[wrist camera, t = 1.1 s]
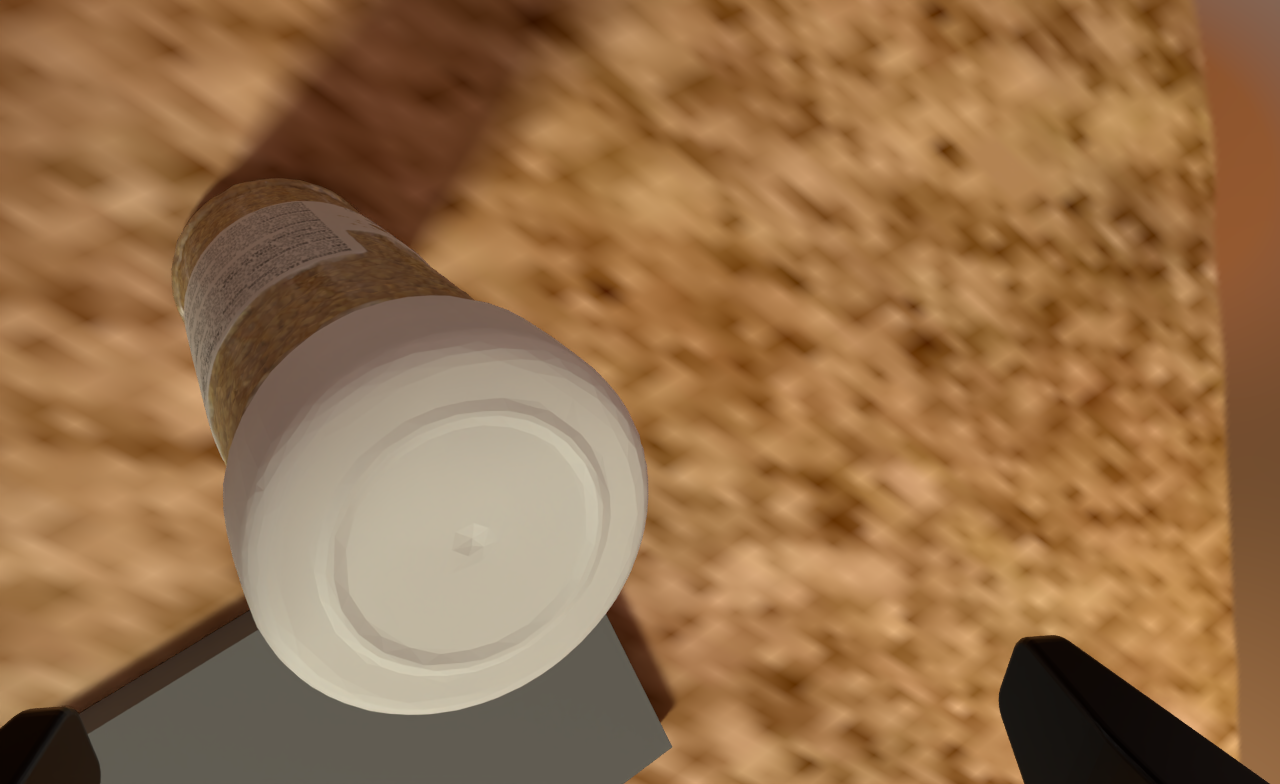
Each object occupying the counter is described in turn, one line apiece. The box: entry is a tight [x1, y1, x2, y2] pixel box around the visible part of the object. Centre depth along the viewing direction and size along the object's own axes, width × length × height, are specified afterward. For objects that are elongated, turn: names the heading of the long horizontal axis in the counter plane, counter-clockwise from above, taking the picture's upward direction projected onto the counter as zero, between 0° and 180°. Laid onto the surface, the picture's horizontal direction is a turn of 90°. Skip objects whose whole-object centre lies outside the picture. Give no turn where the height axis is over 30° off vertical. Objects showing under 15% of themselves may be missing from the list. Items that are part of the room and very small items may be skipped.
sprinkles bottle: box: [172, 178, 648, 715], centre depth 15 cm, size 5×5×13 cm
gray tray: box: [79, 611, 672, 784], centre depth 26 cm, size 16×12×1 cm
